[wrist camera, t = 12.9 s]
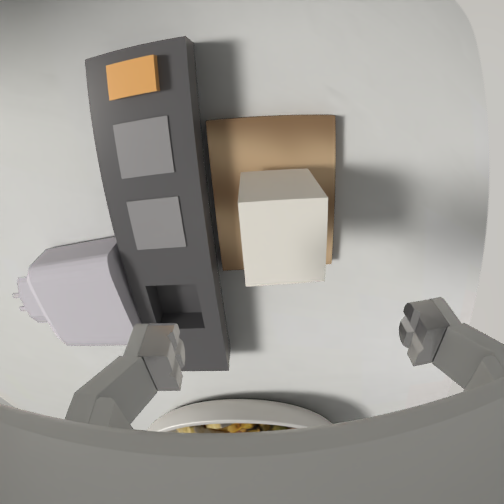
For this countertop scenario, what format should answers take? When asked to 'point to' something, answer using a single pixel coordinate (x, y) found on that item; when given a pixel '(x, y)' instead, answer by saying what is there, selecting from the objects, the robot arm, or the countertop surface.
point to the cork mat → (266, 165)
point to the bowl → (236, 417)
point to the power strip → (160, 191)
